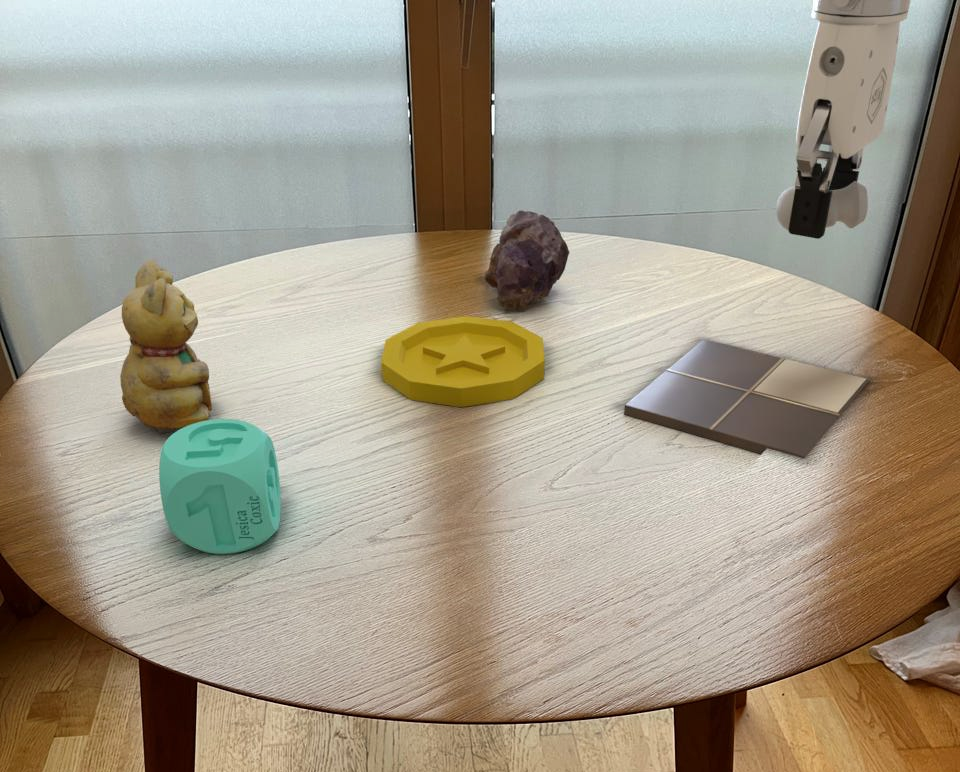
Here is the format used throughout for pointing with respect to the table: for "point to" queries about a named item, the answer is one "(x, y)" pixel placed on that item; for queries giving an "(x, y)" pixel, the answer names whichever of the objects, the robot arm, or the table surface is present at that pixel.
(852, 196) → the smooth white sculpture
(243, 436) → the decorative dice
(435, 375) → the decorative disc
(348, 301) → the table surface
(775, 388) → the board
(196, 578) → the table surface
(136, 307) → the decorative figurine
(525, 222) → the rock
